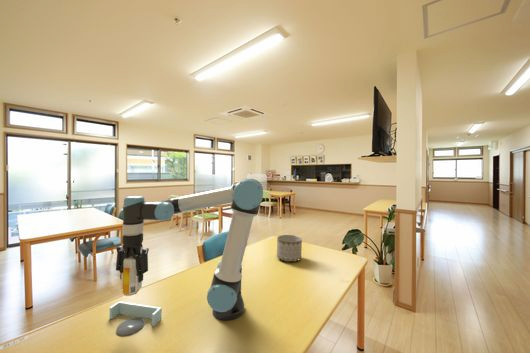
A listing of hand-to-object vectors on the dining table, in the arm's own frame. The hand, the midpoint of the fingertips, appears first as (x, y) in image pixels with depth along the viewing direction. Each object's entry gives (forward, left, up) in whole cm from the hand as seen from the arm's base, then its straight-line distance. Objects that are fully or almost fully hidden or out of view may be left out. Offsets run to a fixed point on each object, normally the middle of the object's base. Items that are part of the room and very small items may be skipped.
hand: (131, 288), depth 91 cm
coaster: (0, 0, -16) cm, 16 cm away
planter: (-60, -93, -17) cm, 112 cm away
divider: (+2, -5, -16) cm, 17 cm away
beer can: (0, 0, -2) cm, 2 cm away
